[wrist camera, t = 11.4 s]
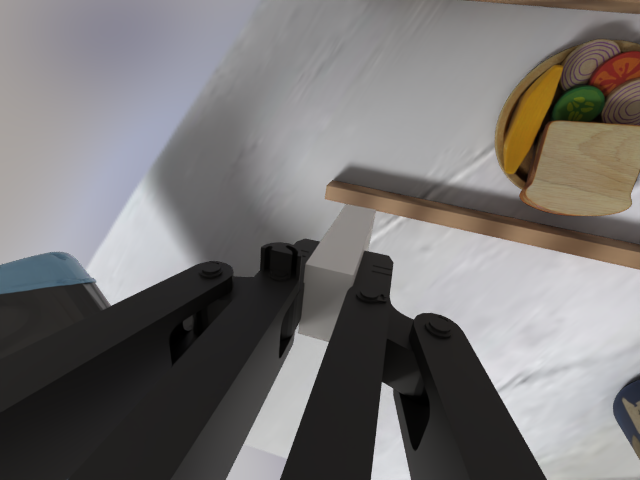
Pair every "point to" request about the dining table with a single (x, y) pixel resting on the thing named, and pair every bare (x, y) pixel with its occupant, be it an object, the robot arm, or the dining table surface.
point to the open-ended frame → (492, 224)
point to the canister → (629, 413)
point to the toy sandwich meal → (575, 130)
